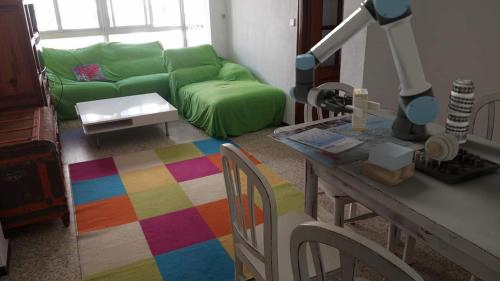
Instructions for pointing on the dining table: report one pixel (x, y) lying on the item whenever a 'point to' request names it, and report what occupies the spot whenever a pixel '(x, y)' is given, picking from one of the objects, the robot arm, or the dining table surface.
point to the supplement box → (360, 102)
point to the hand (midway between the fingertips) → (370, 110)
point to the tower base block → (387, 173)
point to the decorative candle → (460, 109)
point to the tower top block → (390, 156)
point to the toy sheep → (442, 146)
